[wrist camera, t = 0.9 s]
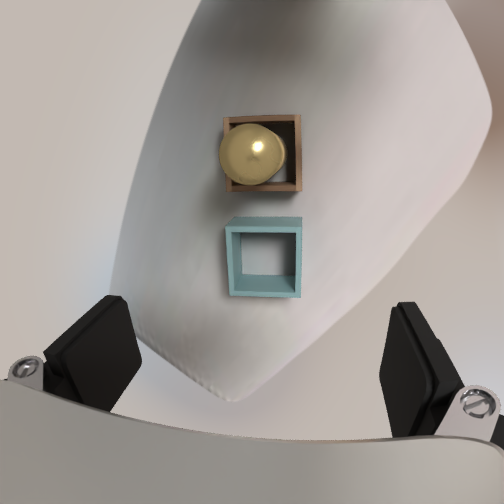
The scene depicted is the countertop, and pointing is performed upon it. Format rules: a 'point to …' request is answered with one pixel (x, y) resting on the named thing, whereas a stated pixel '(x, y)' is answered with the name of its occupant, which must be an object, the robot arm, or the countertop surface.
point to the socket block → (285, 119)
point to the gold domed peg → (252, 154)
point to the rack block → (262, 283)
